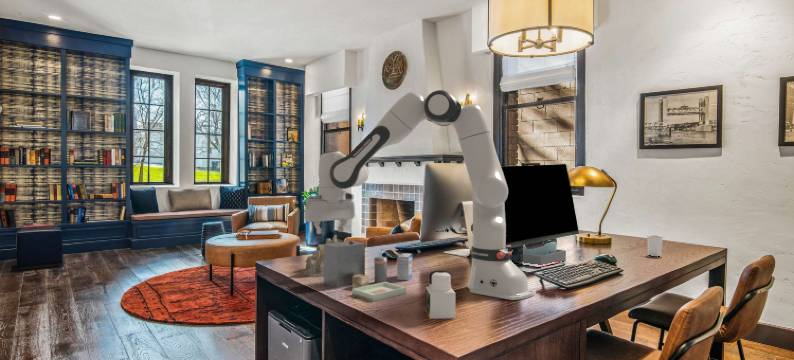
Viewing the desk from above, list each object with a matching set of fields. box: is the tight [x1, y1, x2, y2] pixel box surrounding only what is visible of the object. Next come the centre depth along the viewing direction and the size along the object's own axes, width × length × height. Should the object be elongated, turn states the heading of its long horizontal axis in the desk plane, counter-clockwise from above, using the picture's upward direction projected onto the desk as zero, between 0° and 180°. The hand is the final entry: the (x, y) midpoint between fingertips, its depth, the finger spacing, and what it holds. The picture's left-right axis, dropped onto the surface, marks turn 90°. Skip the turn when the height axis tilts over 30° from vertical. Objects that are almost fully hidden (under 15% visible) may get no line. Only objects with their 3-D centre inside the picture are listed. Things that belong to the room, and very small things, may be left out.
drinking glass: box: [646, 234, 664, 256], centre depth 218 cm, size 7×7×10 cm
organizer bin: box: [523, 248, 567, 265], centre depth 199 cm, size 14×22×5 cm, turn 133°
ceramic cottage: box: [303, 234, 338, 278], centre depth 177 cm, size 16×16×15 cm
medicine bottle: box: [425, 270, 456, 320], centre depth 124 cm, size 7×7×12 cm
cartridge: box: [373, 256, 388, 284], centre depth 159 cm, size 4×4×9 cm
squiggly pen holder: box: [523, 241, 558, 256], centre depth 201 cm, size 18×10×9 cm, turn 104°
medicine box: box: [396, 252, 413, 281], centre depth 168 cm, size 8×4×9 cm, turn 168°
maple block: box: [351, 274, 370, 289], centre depth 153 cm, size 4×4×4 cm
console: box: [323, 240, 366, 289], centre depth 159 cm, size 9×12×15 cm
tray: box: [351, 281, 407, 303], centre depth 145 cm, size 10×14×2 cm
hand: (330, 232), depth 165 cm, fingers open, 8 cm apart
